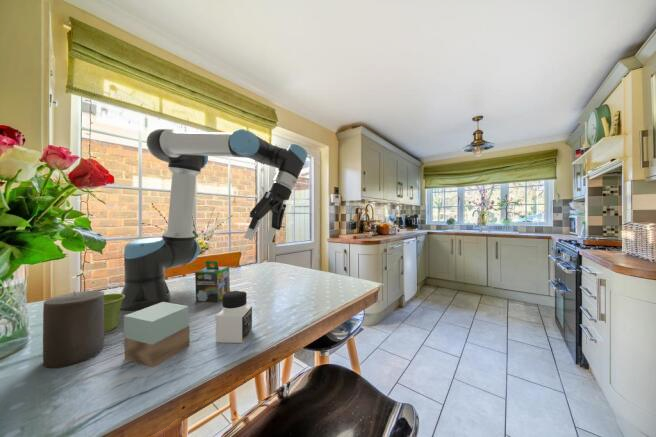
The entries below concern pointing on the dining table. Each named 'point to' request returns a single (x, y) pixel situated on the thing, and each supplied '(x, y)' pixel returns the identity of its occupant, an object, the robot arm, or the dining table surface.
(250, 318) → the medicine bottle
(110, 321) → the plant pot
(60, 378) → the dining table surface
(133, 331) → the tower top block
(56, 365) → the pillar candle
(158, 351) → the tower base block
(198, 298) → the chalk box
